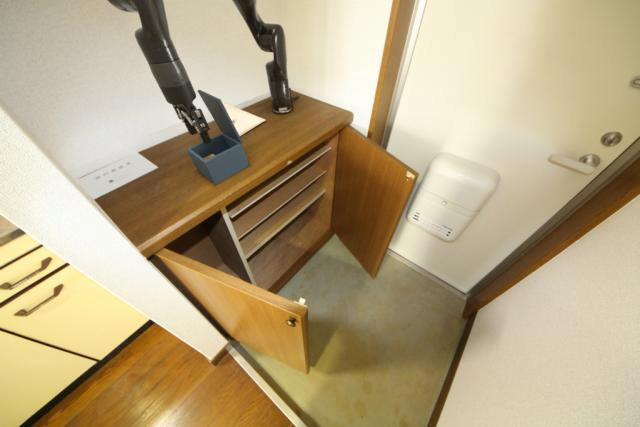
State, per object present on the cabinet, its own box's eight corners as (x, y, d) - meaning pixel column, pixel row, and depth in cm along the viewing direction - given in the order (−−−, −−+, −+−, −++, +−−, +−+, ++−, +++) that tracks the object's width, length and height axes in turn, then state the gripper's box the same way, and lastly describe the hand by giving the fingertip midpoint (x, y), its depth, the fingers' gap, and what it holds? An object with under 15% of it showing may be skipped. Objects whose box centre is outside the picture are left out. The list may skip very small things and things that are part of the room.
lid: (218, 100, 61) (220, 99, 62) (197, 90, 67) (199, 89, 67) (240, 143, 73) (242, 141, 74) (221, 131, 79) (223, 130, 79)
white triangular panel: (255, 103, 103) (214, 103, 90) (263, 102, 99) (221, 101, 86) (262, 137, 109) (224, 142, 95) (269, 136, 105) (231, 141, 91)
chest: (215, 184, 74) (204, 162, 67) (197, 170, 79) (186, 149, 73) (249, 165, 81) (242, 143, 74) (230, 153, 86) (222, 132, 79)
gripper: (201, 82, 55) (223, 141, 67) (175, 71, 61) (200, 126, 74) (171, 91, 51) (201, 151, 64) (147, 78, 58) (178, 135, 70)
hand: (200, 138), depth 69 cm, fingers open, 8 cm apart
